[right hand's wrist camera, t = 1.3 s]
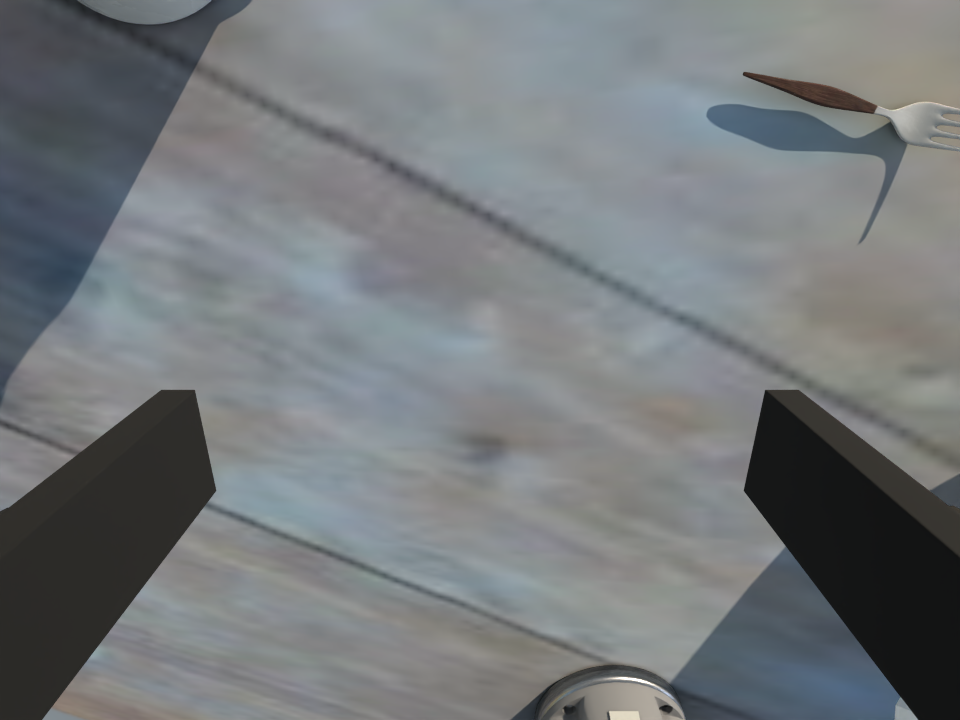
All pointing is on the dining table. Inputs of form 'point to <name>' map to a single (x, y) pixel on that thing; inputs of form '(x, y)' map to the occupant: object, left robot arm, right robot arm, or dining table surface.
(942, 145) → the fork
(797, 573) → the dining table surface
